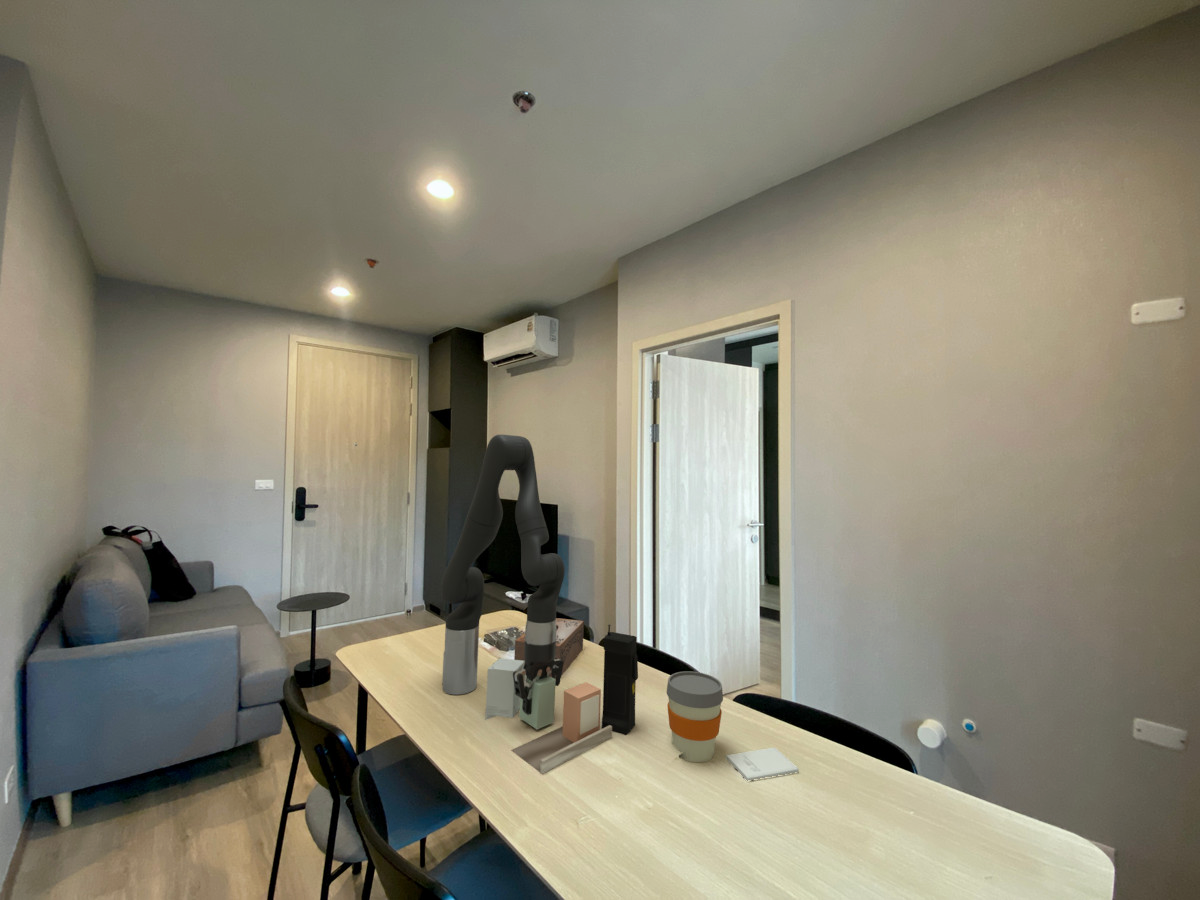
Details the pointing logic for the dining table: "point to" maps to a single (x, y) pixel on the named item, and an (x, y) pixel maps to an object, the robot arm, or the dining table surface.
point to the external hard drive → (761, 763)
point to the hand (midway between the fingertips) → (537, 709)
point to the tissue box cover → (560, 642)
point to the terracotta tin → (581, 711)
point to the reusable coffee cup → (694, 713)
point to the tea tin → (540, 703)
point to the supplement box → (502, 688)
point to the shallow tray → (558, 748)
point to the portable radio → (619, 682)
